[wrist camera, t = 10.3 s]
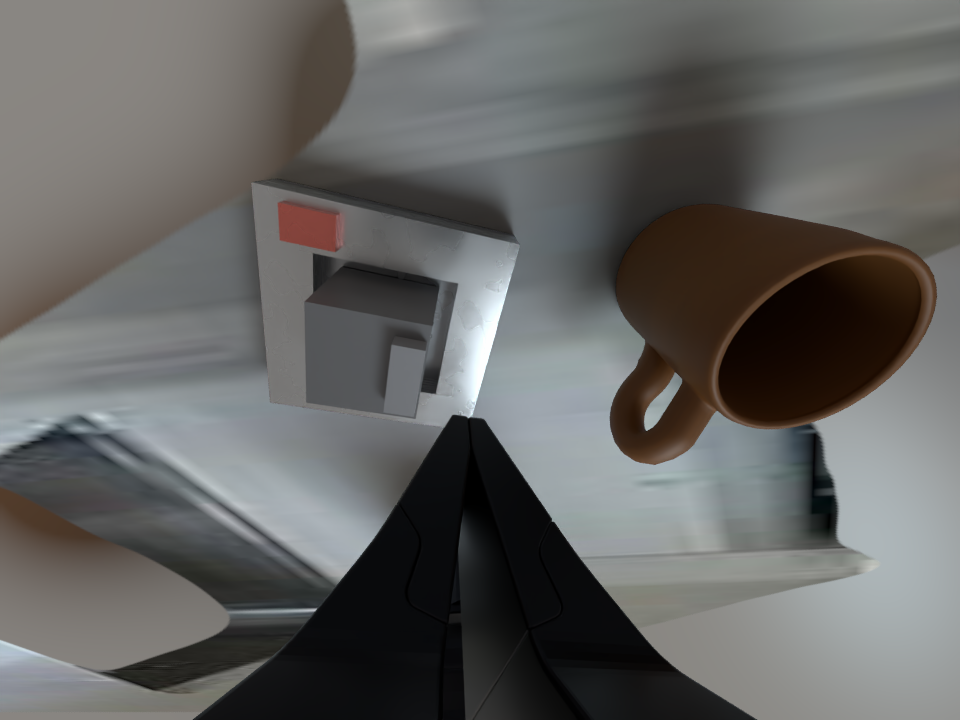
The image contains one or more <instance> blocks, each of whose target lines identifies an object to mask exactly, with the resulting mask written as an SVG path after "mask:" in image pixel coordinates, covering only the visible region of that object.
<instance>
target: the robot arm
mask: <svg viewBox="0 0 960 720" xmlns="http://www.w3.org/2000/svg"><path fill="white" fill-rule="evenodd" d="M193 720H757V719H755V718H754V717H752V716H750V715H749V714H747V713H745V712H744V711H742V710H740V709H739V708H737V707H736V706H734V705H733V704H731V703H729V702H727V701H726V700H724V699H723V698H721V697H720V696H718V695H717V694H715V693H713V692H712V691H710V690H708V689H707V688H705V687H703V686H702V685H700V684H699V683H697V682H695V681H694V680H692V679H691V678H689V677H688V676H686V675H685V674H683V673H681V672H680V671H679V670H678V669H676V668H675V667H674V666H672V665H671V664H670V663H669V662H668V661H667V660H666V659H664V658H663V657H662V656H661V655H660V654H659V653H658V652H657V651H656V650H655V649H654V648H653V647H652V646H651V644H650V643H649V642H648V641H647V640H646V639H645V637H644V636H643V635H642V634H641V633H640V632H639V630H638V629H637V628H636V627H635V625H634V624H633V623H632V622H631V621H630V619H629V618H628V617H627V616H626V614H625V613H624V612H623V611H622V610H621V608H620V607H619V606H618V605H617V604H616V602H615V601H614V600H613V599H612V597H611V596H610V595H609V594H608V593H607V591H606V590H605V589H604V588H603V587H602V585H601V584H600V583H599V582H598V580H597V579H596V578H595V577H594V575H593V574H592V573H591V572H590V570H589V569H588V568H587V567H586V565H585V564H584V563H583V561H582V560H581V559H580V558H579V556H578V555H577V554H576V552H575V551H574V549H573V548H572V547H571V545H570V544H569V542H568V541H567V540H566V538H565V537H564V536H563V534H562V533H561V531H560V530H559V528H558V527H557V525H556V524H555V522H552V518H551V517H550V515H549V514H548V512H547V511H546V509H545V508H544V506H543V505H542V503H541V502H540V501H539V499H538V498H537V496H536V495H535V493H534V492H533V490H532V489H531V487H530V486H529V484H528V483H527V481H526V480H525V479H524V477H523V476H522V474H521V473H520V471H519V470H518V468H517V467H516V465H515V464H514V462H513V461H512V459H511V458H510V457H509V455H508V454H507V452H506V451H505V449H504V448H503V446H502V445H501V443H500V442H499V440H498V439H497V437H496V436H495V434H494V433H493V432H492V430H491V429H490V427H489V426H488V424H487V423H486V421H485V420H484V419H482V418H475V417H469V418H467V417H466V416H462V415H455V414H454V415H452V416H451V417H450V419H449V421H448V422H447V424H446V425H445V427H444V429H443V430H442V432H441V434H440V435H439V437H438V438H437V440H436V442H435V443H434V445H433V446H432V448H431V450H430V451H429V453H428V454H427V456H426V458H425V459H424V461H423V463H422V464H421V466H420V467H419V469H418V471H417V472H416V474H415V475H414V477H413V479H412V480H411V482H410V483H409V485H408V487H407V488H406V490H405V492H404V493H403V495H402V496H401V498H400V500H399V501H398V503H397V505H396V506H395V507H394V509H393V510H392V512H391V514H390V515H389V517H388V518H387V520H386V521H385V523H384V524H383V526H382V527H381V529H380V530H379V532H378V533H377V535H376V536H375V538H374V539H373V540H372V542H371V543H370V544H369V546H368V547H367V548H366V550H365V551H364V552H363V553H362V555H361V556H360V557H359V559H358V560H357V561H356V562H355V564H354V565H353V566H352V567H351V568H350V570H349V571H348V572H347V573H346V574H345V576H344V577H343V578H342V579H341V581H340V582H339V583H338V584H337V585H336V587H335V588H334V589H333V590H332V591H331V593H330V594H329V595H328V596H327V598H326V599H325V600H324V601H323V602H322V604H321V605H320V606H319V607H318V608H317V610H316V611H315V612H314V613H313V615H312V616H311V617H310V618H309V619H308V620H307V622H306V623H305V624H304V625H303V626H302V627H301V629H300V630H299V631H298V632H297V633H296V634H295V635H294V636H293V637H292V638H291V639H290V640H289V641H288V642H287V643H286V644H285V645H284V646H283V647H282V648H281V649H280V650H279V651H278V652H277V653H276V654H275V655H274V656H273V657H271V658H270V659H269V660H268V661H267V662H265V663H264V664H263V665H262V666H260V667H259V668H258V669H256V670H255V671H254V672H253V673H251V674H250V675H249V676H248V677H246V678H245V679H244V680H242V681H241V682H240V683H239V684H237V685H236V686H235V687H234V688H232V689H231V690H230V691H228V692H227V693H226V694H225V695H223V696H222V697H221V698H220V699H218V700H217V701H216V702H214V703H213V704H212V705H211V706H209V707H208V708H207V709H206V710H204V711H203V712H202V713H200V714H199V715H198V716H197V717H195V718H194V719H193Z"/></svg>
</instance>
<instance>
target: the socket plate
mask: <svg viewBox="0 0 960 720" xmlns="http://www.w3.org/2000/svg"><path fill="white" fill-rule="evenodd" d="M251 186H252V197H253V209H254V221H255V232H256V244H257V255H258V267H259V278H260V290H261V301H262V313H263V324H264V336H265V347H266V359H267V370H268V382H269V393H270V402H271V403H278V404H284V405H291V406H298V407H305V408H312V409H318V410H325V411H332V412H339V413H346V414H353V415H359V416H366V417H373V418H380V419H387V420H394V421H400V422H407V423H414V424H421V425H428V426H434V427H441V428H444V427H445V425H446V424H447V422H448V421H449V419H450V417H451V416H452V415H454V414H455V415H462V416H466V417H467V418H469V417H472V415H473V411H474V407H475V404H476V400H477V397H478V393H479V389H480V386H481V382H482V379H483V375H484V372H485V368H486V364H487V361H488V357H489V354H490V350H491V347H492V343H493V339H494V336H495V332H496V329H497V325H498V322H499V318H500V314H501V311H502V307H503V304H504V300H505V296H506V293H507V289H508V286H509V282H510V279H511V275H512V271H513V268H514V264H515V261H516V257H517V254H518V250H519V246H520V244H519V242H518V241H517V239H516V237H515V236H514V235H513V234H509V233H505V232H500V231H496V230H492V229H488V228H483V227H479V226H475V225H471V224H467V223H462V222H458V221H454V220H450V219H445V218H441V217H437V216H433V215H429V214H424V213H420V212H416V211H412V210H407V209H403V208H399V207H395V206H390V205H386V204H382V203H378V202H374V201H369V200H365V199H361V198H357V197H352V196H348V195H344V194H340V193H336V192H331V191H327V190H323V189H319V188H314V187H310V186H306V185H302V184H298V183H293V182H289V181H285V180H281V179H271V180H263V181H256V182H251ZM341 267H345V268H350V269H354V270H359V271H364V272H369V273H373V274H378V275H383V276H388V277H393V278H397V279H402V280H407V281H412V282H416V283H421V284H426V285H431V286H436V287H439V293H438V298H437V304H436V309H435V315H434V321H433V326H432V332H431V337H430V343H429V348H428V354H427V359H426V365H425V370H424V376H423V381H422V387H421V392H420V398H419V403H418V409H417V414H416V419H412V418H405V417H398V416H392V415H385V414H378V413H372V412H365V411H359V410H352V409H345V408H339V407H332V406H325V405H319V404H312V403H306V365H305V312H304V301H305V300H306V299H308V298H309V297H310V296H311V295H312V294H313V293H314V292H315V291H316V290H317V289H318V288H319V287H320V286H322V285H323V284H324V283H325V282H326V281H327V280H328V279H329V278H330V277H331V276H332V275H333V274H334V273H335V272H337V271H338V270H339V269H340V268H341Z"/></svg>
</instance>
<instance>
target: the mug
mask: <svg viewBox="0 0 960 720" xmlns="http://www.w3.org/2000/svg"><path fill="white" fill-rule="evenodd" d="M936 291H937V290H936V283H935V279H934V275H933V274H932V272H931V270H930V268H929V266H928V265H927V264H926V263H925V262H924V261H923V260H922V259H921V258H920V257H919V256H918V255H917V254H915V253H914V252H912V251H911V250H909V249H907V248H904V247H902V246H899V245H896V244H893V243H890V242H887V241H883V240H879V239H875V238H872V237H869V236H866V235H863V234H860V233H857V232H854V231H851V230H847V229H842V228H838V227H833V226H828V225H823V224H818V223H813V222H808V221H803V220H798V219H793V218H788V217H783V216H778V215H772V214H767V213H761V212H756V211H750V210H744V209H739V208H734V207H729V206H723V205H716V204H699V205H691V206H687V207H683V208H679V209H676V210H674V211H671V212H669V213H667V214H665V215H663V216H662V217H660V218H658V219H657V220H656V221H654V222H653V223H651V224H650V225H649V226H648V227H647V228H645V229H644V230H643V231H642V232H641V233H640V234H639V235H638V236H637V238H636V239H635V240H634V241H633V243H632V244H631V245H630V247H629V248H628V250H627V252H626V253H625V255H624V257H623V259H622V262H621V264H620V267H619V270H618V274H617V280H616V296H617V301H618V304H619V307H620V309H621V311H622V313H623V315H624V317H625V318H626V319H627V321H628V322H629V323H630V325H631V326H632V327H633V328H634V329H635V330H636V331H637V332H638V333H639V334H640V335H641V336H642V337H643V338H644V339H645V347H644V350H643V353H642V355H641V357H640V359H639V360H638V364H637V366H636V368H635V369H634V371H633V372H632V373H631V374H630V375H629V376H628V377H627V378H626V380H625V381H624V382H623V383H622V385H621V386H620V388H619V389H618V391H617V393H616V395H615V397H614V400H613V403H612V406H611V412H610V428H611V432H612V435H613V438H614V441H615V443H616V444H617V446H618V447H619V449H620V450H621V451H622V452H623V453H624V454H625V455H626V456H628V457H630V458H631V459H633V460H634V461H636V462H640V463H646V464H653V465H656V464H659V463H662V462H665V461H669V460H672V459H674V458H676V457H678V456H680V455H681V454H683V453H685V452H686V451H688V450H689V449H690V448H691V447H692V446H693V445H694V444H695V442H696V440H697V439H698V437H699V436H700V434H701V433H702V431H703V430H704V428H705V427H706V425H707V423H708V422H709V420H710V419H711V417H712V416H713V414H714V413H715V412H716V411H719V412H720V413H721V414H722V415H723V416H725V417H726V418H728V419H730V420H731V421H733V422H736V423H739V424H742V425H744V426H748V427H753V428H759V429H782V428H790V427H795V426H801V425H804V424H808V423H811V422H815V421H817V420H820V419H823V418H826V417H828V416H830V415H833V414H835V413H837V412H839V411H841V410H843V409H845V408H847V407H849V406H851V405H852V404H854V403H856V402H857V401H859V400H860V399H862V398H864V397H865V396H867V395H868V394H869V393H871V392H872V391H874V390H875V389H877V388H878V387H879V386H880V385H881V384H883V383H884V382H885V381H886V380H887V379H889V378H890V377H891V376H892V375H893V374H894V373H895V372H896V371H897V370H898V369H899V368H900V367H901V366H902V365H903V364H904V363H905V361H906V360H907V359H908V358H909V357H910V356H911V354H912V353H913V352H914V350H915V349H916V348H917V346H918V345H919V343H920V341H921V340H922V338H923V337H924V335H925V333H926V331H927V329H928V327H929V325H930V323H931V320H932V317H933V314H934V311H935V306H936V298H937V292H936ZM675 372H676V373H677V374H678V375H679V376H680V377H681V378H682V384H681V386H680V388H679V390H678V392H677V393H676V395H675V396H674V398H673V399H672V401H671V402H670V404H669V406H668V407H667V409H666V410H665V412H664V413H663V415H662V417H661V418H660V420H659V421H658V423H657V424H656V425H655V426H654V427H653V428H651V429H650V430H648V431H646V430H645V427H644V416H645V412H646V410H647V408H648V406H649V404H650V403H651V402H652V401H653V400H654V399H655V398H656V397H657V396H658V395H659V394H660V393H661V392H662V391H663V390H664V389H665V388H666V386H667V385H668V384H669V382H670V380H671V379H672V377H673V375H674V373H675Z"/></svg>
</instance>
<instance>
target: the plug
mask: <svg viewBox="0 0 960 720" xmlns="http://www.w3.org/2000/svg"><path fill="white" fill-rule="evenodd" d="M438 293H439V287H436V286H431V285H426V284H421V283H416V282H412V281H407V280H402V279H397V278H393V277H388V276H383V275H378V274H373V273H369V272H364V271H359V270H354V269H350V268H345V267H341V268H340V269H339V270H338V271H337V272H335V273H334V274H333V275H332V276H331V277H330V278H329V279H328V280H327V281H326V282H325V283H324V284H323V285H322V286H320V287H319V288H318V289H317V290H316V291H315V292H314V293H313V294H312V295H311V296H310V297H309V298H308V299H306V300H305V301H304V312H305V365H306V403H312V404H319V405H325V406H332V407H339V408H345V409H352V410H359V411H365V412H372V413H378V414H385V415H392V416H398V417H405V418H412V419H416V414H417V409H418V403H419V398H420V392H421V387H422V381H423V376H424V370H425V365H426V359H427V354H428V348H429V343H430V337H431V332H432V326H433V321H434V315H435V309H436V304H437V298H438Z"/></svg>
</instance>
